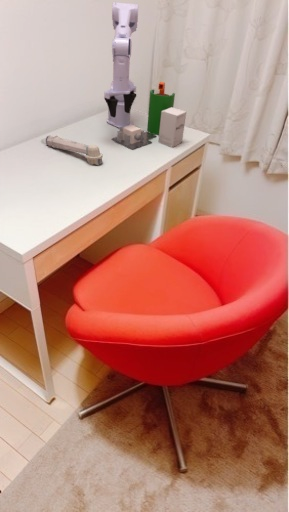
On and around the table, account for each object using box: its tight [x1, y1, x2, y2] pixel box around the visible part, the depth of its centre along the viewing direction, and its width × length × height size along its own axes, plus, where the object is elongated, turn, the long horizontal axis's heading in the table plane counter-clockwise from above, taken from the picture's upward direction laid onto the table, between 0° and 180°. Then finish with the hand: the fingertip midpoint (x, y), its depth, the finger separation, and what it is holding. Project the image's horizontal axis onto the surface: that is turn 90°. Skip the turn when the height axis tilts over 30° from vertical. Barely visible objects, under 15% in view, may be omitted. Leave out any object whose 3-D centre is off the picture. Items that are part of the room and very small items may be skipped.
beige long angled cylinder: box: [45, 135, 103, 166], centre depth 129 cm, size 5×7×25 cm
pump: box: [123, 124, 142, 144], centre depth 140 cm, size 7×5×5 cm
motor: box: [146, 81, 176, 136], centre depth 147 cm, size 10×9×20 cm
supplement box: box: [157, 106, 187, 148], centre depth 141 cm, size 7×7×13 cm
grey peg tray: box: [111, 126, 158, 151], centre depth 143 cm, size 12×17×4 cm
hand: (120, 114), depth 136 cm, fingers open, 7 cm apart
